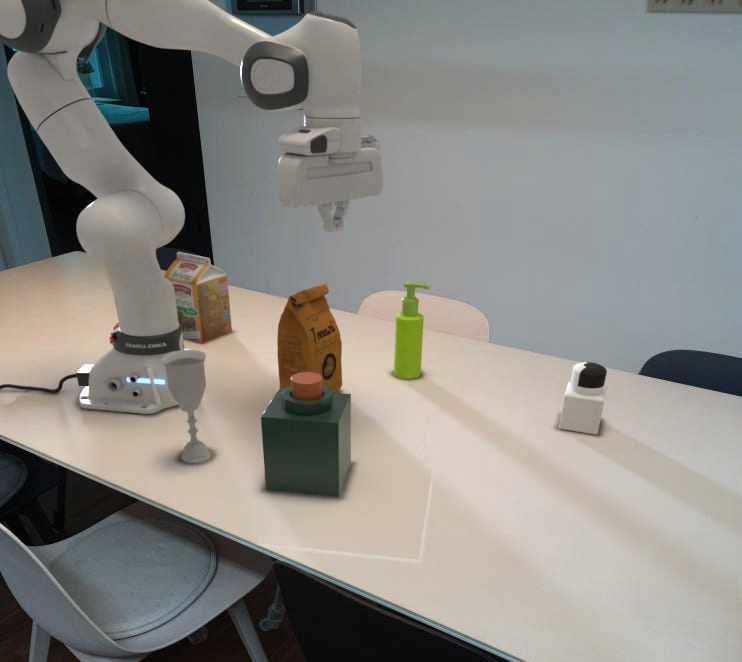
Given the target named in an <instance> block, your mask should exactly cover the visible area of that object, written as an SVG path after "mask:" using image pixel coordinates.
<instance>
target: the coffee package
mask: <svg viewBox="0 0 742 662" xmlns="http://www.w3.org/2000/svg"><path fill="white" fill-rule="evenodd" d="M329 294H330V290H329V287H328V285H327V284H326V283H323V284H319V285H317V286H313V287H310V288H306V289H302V290H300V291H298V292H295V293H294V294H292V295H290V296H288V299H287V301H286V304H285V306H284V309H283V310H282V311H283V312H282V313H281V315H280V317H279V321H278V327H277V343H276V345H277V366H278V379H279V380H278V381H279V389H285V388H288V387H290V386H291V377H292V376H293V375H294V374H297V373H301V372H313V373H317V374H319V375H321V376H322V386H325V387H328V388H329V389H330V390H331V391H332V392H333V393H338V392H339V391H340V390H341V388H342V386H343V369H342V368H343V367H342V354H343V353H342V352H343V350H342V349H343V342H342V337H341V332H340V329H339V327H338V324H337V321H336V319H335V316H334V315H333V313H332V312H331V310H330V306H329V303H328V299H327V298H326V297H325V296H326V295H329Z"/></svg>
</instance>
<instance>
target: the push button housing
mask: <svg viewBox="0 0 742 662" xmlns="http://www.w3.org/2000/svg"><path fill="white" fill-rule="evenodd" d="M322 393H323V395H322V397H321V398H318V399H315V400H298V399H295V398H293V397H292V391H291V386H290V387H288V388H285V389H280V388H278V390H277V391H276V392H275V394H274V396H273V397H272V399H271V400H270V402H269V403H268V405H267V407H266V408H265V410H264V411H263V413H262V414H261V416H260V425H261V438H262V439H261V440H262V454H263V455H262V456H263V469H264V485H265V490H266V491H274V492H285V493H296V494H307V495H318V496H329V497H340V496H341V493H342V489H343V486H344V485H345V481H346V478H347V475H348V472H349V470H350V466H351V464H352V394H351V393H345V392H344V393H343V392H335V393H333V392H332V391H331V390H330V389H329V388H328V387H325V386H322Z"/></svg>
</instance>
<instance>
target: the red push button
mask: <svg viewBox="0 0 742 662" xmlns="http://www.w3.org/2000/svg"><path fill="white" fill-rule="evenodd" d="M291 391H292V397H293V398H295V399H298V400H315V399H318V398H321V397H322V395H323V393H322V376H321V375H319V374H317V373H313V372H301V373H297V374H294V375H293V376H292V377H291Z"/></svg>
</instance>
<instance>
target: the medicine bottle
mask: <svg viewBox="0 0 742 662" xmlns="http://www.w3.org/2000/svg"><path fill="white" fill-rule="evenodd" d="M607 373H608V369H607V368H606V367H605V366H604V365H601V364H599V363H598V362H593V361H583V362H578V363H576V364H574V365H573V367H572V372H571V378H570V381H568V383H567V386H566V389H565V393H564V396H563V401H562V407H561V414H560V420H559V424H558V425H559V426H558V428H559V430H565V431H571V432H577V433H578V432H579V433H583V434H591V435H598V434H599V430H600V425H601V424H600V423H601V420H602V419H601V418H602V415H603V410H604V405H605V399H606V393H607V386H606V385H605V383H606V378H607Z"/></svg>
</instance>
